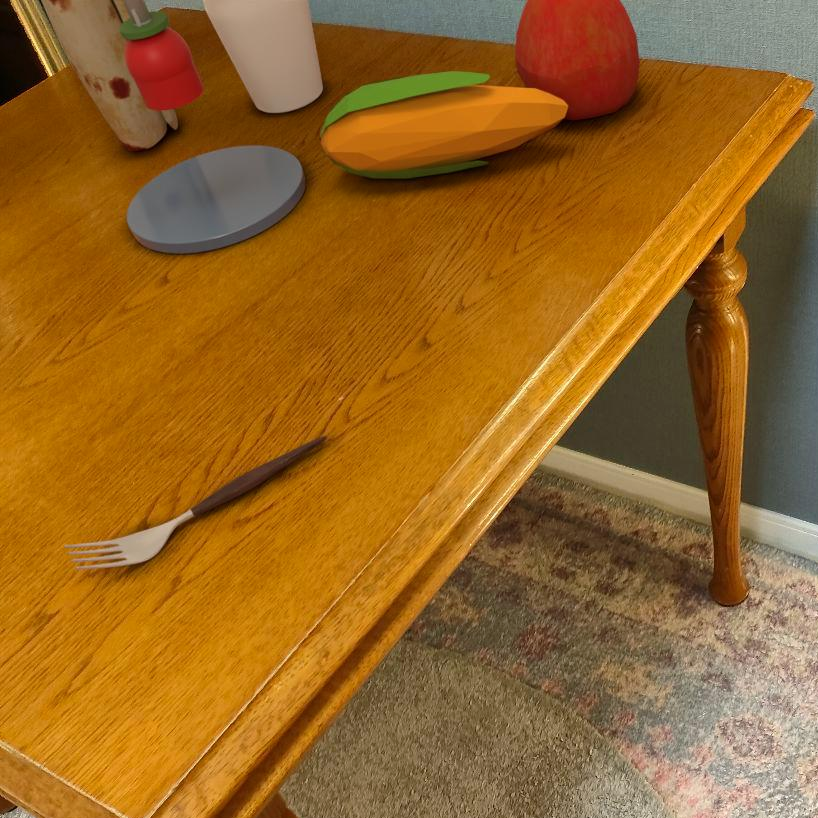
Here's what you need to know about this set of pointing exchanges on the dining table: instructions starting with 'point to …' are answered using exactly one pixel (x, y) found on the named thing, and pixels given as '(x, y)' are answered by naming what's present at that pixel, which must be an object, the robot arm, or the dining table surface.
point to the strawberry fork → (158, 59)
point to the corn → (433, 124)
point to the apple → (579, 54)
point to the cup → (270, 50)
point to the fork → (185, 515)
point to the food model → (107, 68)
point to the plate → (216, 199)
